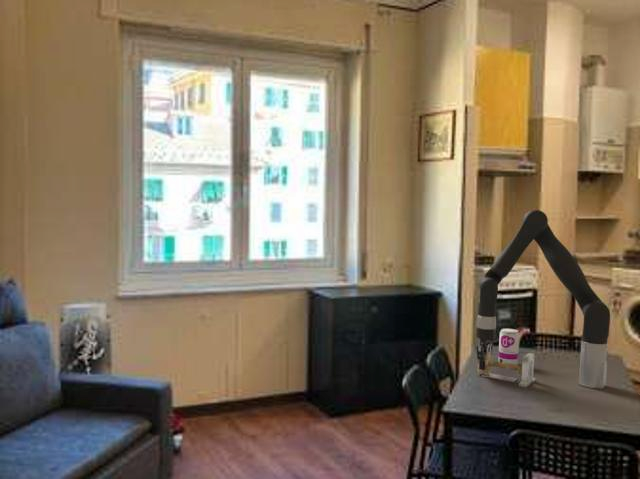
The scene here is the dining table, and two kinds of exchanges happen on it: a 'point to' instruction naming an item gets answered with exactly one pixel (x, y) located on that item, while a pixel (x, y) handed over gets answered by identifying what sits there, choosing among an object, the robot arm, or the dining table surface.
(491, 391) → the dining table surface
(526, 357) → the white stand
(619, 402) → the dining table surface
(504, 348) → the supplement can
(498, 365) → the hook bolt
